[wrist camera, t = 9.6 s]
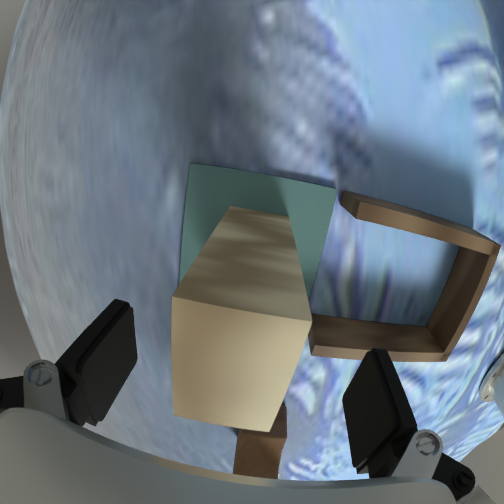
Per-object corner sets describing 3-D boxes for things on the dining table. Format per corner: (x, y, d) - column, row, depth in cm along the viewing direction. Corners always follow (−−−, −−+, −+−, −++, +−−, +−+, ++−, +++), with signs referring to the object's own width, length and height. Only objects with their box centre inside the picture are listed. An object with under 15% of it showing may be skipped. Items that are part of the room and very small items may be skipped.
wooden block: (244, 399, 26) (225, 560, 10) (287, 403, 26) (287, 562, 10) (237, 438, 30) (220, 561, 13) (272, 442, 30) (266, 565, 13)
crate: (473, 229, 18) (500, 245, 14) (429, 335, 22) (445, 361, 19) (342, 190, 18) (360, 201, 14) (305, 323, 22) (311, 355, 19)
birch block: (288, 216, 19) (312, 321, 8) (271, 293, 21) (269, 432, 10) (230, 205, 19) (172, 296, 8) (219, 283, 21) (173, 414, 10)
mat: (336, 188, 18) (337, 189, 18) (300, 322, 22) (300, 325, 22) (191, 163, 18) (190, 163, 18) (179, 300, 22) (178, 303, 22)
